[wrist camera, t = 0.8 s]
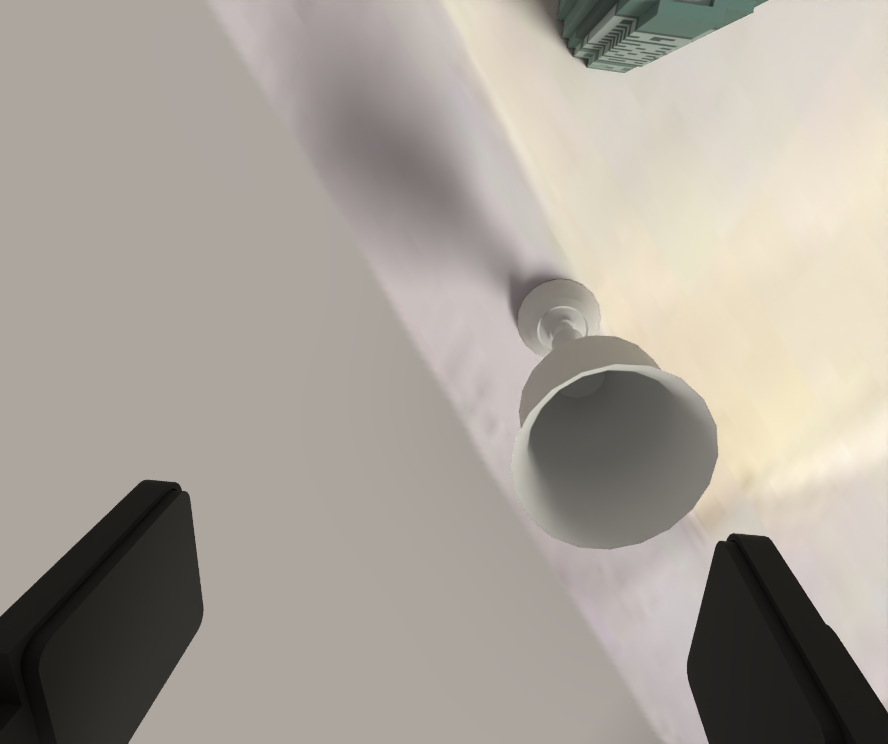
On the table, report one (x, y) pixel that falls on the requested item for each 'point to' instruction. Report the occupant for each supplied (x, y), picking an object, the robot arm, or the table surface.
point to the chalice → (603, 429)
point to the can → (642, 27)
